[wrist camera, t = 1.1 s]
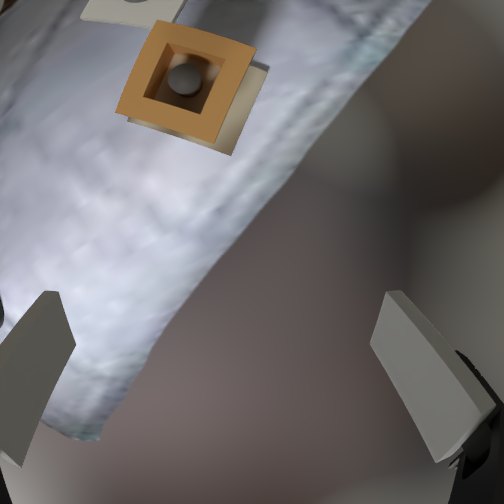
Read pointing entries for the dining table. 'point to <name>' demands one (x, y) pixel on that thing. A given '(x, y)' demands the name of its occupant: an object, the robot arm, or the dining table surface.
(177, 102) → the stand
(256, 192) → the dining table surface
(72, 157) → the dining table surface
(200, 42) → the ring
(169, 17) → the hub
